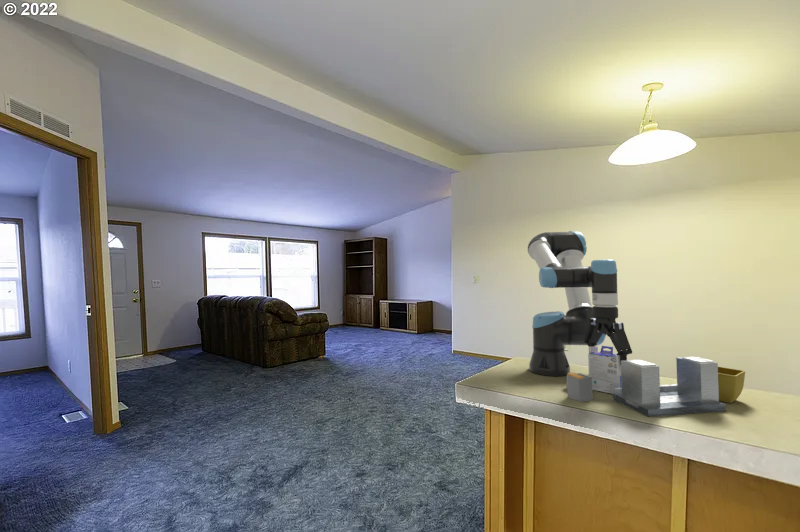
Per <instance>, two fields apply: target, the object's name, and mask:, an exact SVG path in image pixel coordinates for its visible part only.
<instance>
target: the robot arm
mask: <svg viewBox="0 0 800 532" xmlns="http://www.w3.org/2000/svg"><path fill="white" fill-rule="evenodd" d="M587 248H588V247H587V241H586V238H585V236H584V235H583V233H582V232H580V231H572V230H569V231H550V232H549V231H548V232H547V231H546V232H542V233H539V234H537V235H535V236H533V237H532V238H531V240H530V241H529V242H528V245H527V253H528V255H529V258H531V259H532V260H534V261H535V263H536V264H537V267H538V269H539V271H538V282H539V286H540V287H542V288H544V289H545V288H549V289H556V288H557V289H559V288H560V289H561V288H564V290H565V295H566V301H567V306H568V310H567V311H566V312H565V314H564V312H563V311H560V310H559V311H546V312H545V311H544V312H541V313H540V312H539V313H537V314H534V316H533V317H532V339H533V341H532V345H533V346H532V348H533V350H532V354H531V357H530V361H529V362H528V363H529V364H528V367H529V371H530V372H531V373H534V374H537V375H541V376H548V377H549V376H550V377H562V376H567V375H568V373H571V367H570V366H571V365H570V363H569V361H568V358H567V354H566V351H565V346H588V354H589V353H591V352H599V348H598V346H600V345H602V344H603V343H604V342H605V339H606V336H607V337H608V338H609V339H610V340H611V343H612V344H613V347H614V348H615V350H616V352H617V353H615V354H616V361H617V376H621V361H622V360H628V358H627V356H628V355H632V354H633V350H632V347H631V344H630V342H629V339H628V336H627V334H626V330H625V326H624V325H625V324H624V322H616V320H617V319H618V318H619V307H618V305H619V299H618V298H619V295H618V269H617V267H618V266H617V261H616V260H615V259H594V260H592V261H590V262H591V263H590V266H583V263H582V261H583V259H584V256H586V253H587ZM588 288H591V296H590V292H589V289H588ZM590 297H591V298H592V299H591V298H590ZM592 305H593V306H592Z"/></svg>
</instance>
